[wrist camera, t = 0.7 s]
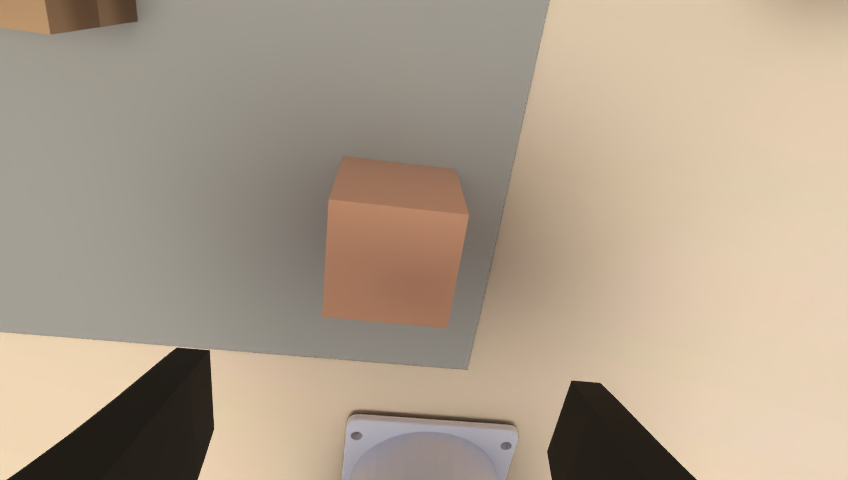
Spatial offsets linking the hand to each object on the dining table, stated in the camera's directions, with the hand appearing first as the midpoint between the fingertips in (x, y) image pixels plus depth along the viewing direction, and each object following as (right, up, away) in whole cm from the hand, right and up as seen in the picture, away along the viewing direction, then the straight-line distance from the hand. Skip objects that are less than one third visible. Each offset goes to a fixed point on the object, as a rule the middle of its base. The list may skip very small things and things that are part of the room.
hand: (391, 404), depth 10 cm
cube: (0, +4, +9) cm, 10 cm away
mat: (-6, +8, +7) cm, 12 cm away
